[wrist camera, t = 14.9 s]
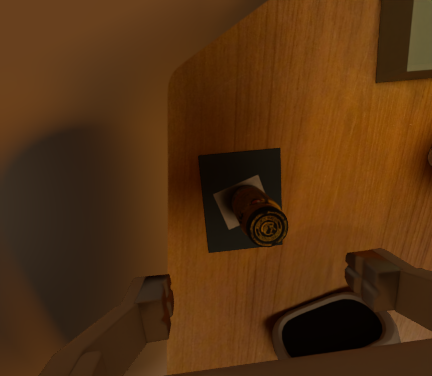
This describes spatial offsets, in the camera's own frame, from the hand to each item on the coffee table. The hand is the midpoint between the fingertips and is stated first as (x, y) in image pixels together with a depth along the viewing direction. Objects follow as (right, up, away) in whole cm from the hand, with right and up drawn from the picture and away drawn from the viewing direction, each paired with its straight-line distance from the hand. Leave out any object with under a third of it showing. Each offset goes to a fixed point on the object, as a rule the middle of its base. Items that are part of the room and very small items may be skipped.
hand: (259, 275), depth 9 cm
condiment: (+3, +1, +27) cm, 28 cm away
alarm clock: (+19, -23, +34) cm, 46 cm away
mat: (+3, +1, +28) cm, 28 cm away
